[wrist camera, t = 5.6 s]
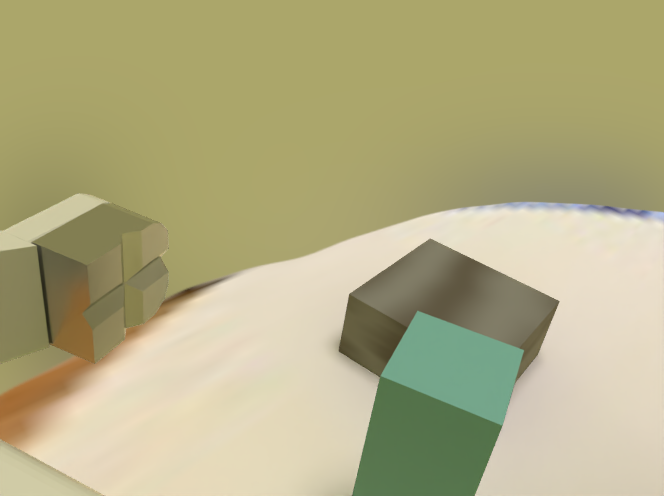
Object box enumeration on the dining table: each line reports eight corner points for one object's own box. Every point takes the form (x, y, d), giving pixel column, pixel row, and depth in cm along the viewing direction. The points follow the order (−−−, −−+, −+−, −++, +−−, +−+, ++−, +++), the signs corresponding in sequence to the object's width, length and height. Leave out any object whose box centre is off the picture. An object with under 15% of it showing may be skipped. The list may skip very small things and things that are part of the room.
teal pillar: (453, 530, 32) (524, 350, 25) (428, 612, 28) (502, 425, 22) (370, 492, 33) (417, 310, 26) (335, 565, 29) (380, 375, 23)
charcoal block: (536, 357, 44) (559, 301, 42) (471, 438, 37) (494, 376, 35) (416, 293, 49) (430, 238, 46) (338, 354, 42) (349, 294, 39)
